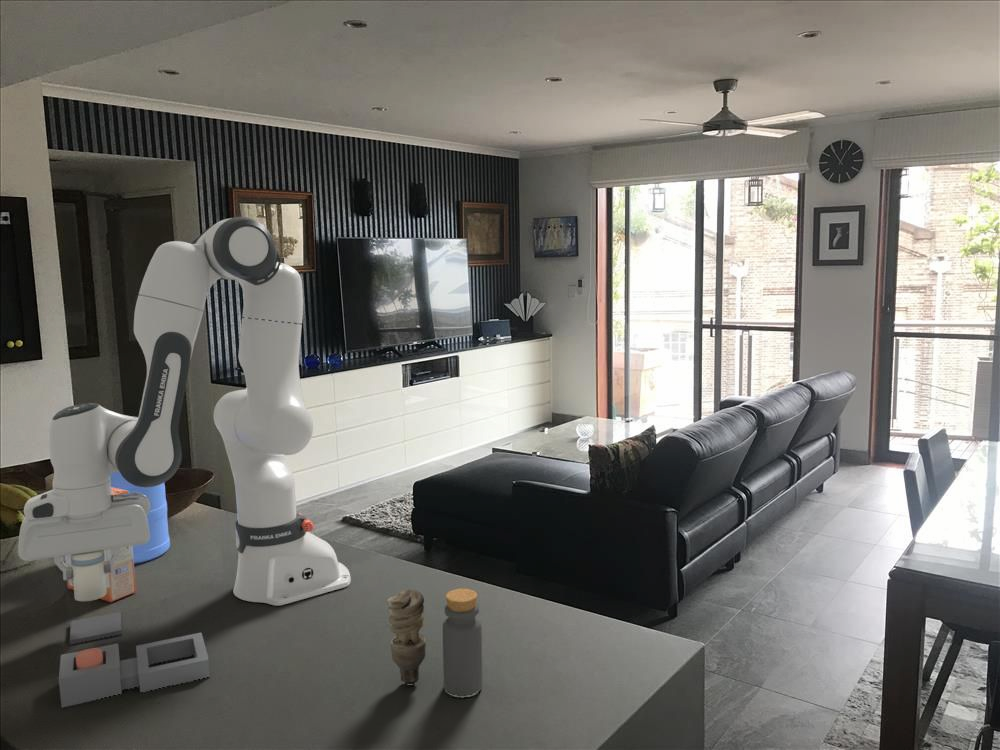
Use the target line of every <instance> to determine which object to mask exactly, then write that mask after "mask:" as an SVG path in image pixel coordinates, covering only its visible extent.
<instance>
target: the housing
mask: <svg viewBox="0 0 1000 750" xmlns="http://www.w3.org/2000/svg"><path fill="white" fill-rule="evenodd" d="M202 633H203V632H197V633H192V634H186V635H182V636H178V637H172V638H167V639H162V640H158V641H153V642H148V643H144V644H139V645H135V648H136V649H135V651H136V657H131V658H128V659H123V660H122V659H121V660H120V651H119V650H120V649H119V647H120V646H119V643H113V644H109V645H104V646H98V647H96V648H99V649H101V650H102V654H103V664H102V665H97V666H93V667H88V668H83V669H78V670H77V664H76V655H77V654H78V653H79V652H81V651H83V650H84V649H83V650H80V651H79V650H78V651H74V652H68V653H64V654H60V661H59V674H58V686H59V695H60V696H59V697H60V704H61V708H62V709H63V708H68V707H71V706H77V705H80V704H85V703H89V702H92V701H93V700H94V701H97V700H96V699H98V700H102V699H101V698H103V699H105V698H104V697H107V698H110V697H109V696H111V697H114V696H113V695H116V696H119V695H118V694H120V695H123V693H122V692H123V691H122V690H124V689H128V690H130V689H129V688H132V689H135V688H134V687H137V688H139V693H140V694H142V693H141V692H143V693H146V692H147V691H148V692H151V691H150V690H152V691H156V690H159V689H158V688H161V689H163V688H162V687H165V688H167V687H166V686H169V685H171V686H170V687H173V686H172V685H174V686H177V684H178V685H182V684H181V683H183V684H185V683H186V682H187V683H191V682H195V681H194V680H196V681H199V680H198V679H200V680H204V679H203V678H205V679H208V678H207V677H209V678H211V673H210V672H211V671H210V660H209V654H208V651H207V648H206V644H205V641H204V637H203V634H202ZM192 655H193V657H192ZM183 657H184V658H187V657H191V658H187V659H184V658H183ZM178 658H179V659H182V658H183V660H179V661H178ZM171 659H172V660H171ZM173 659H174V660H177V661H175V662H169V663H165V664H160V665H156V666H150V665H149V664H151V665H153V664H152V663H156V664H158V663H157V662H161V663H164V662H163V661H165V662H168V661H167V660H170V661H174V660H173ZM139 686H140V687H139ZM155 689H156V690H155ZM124 691H125V690H124ZM84 702H85V703H84Z"/></svg>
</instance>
